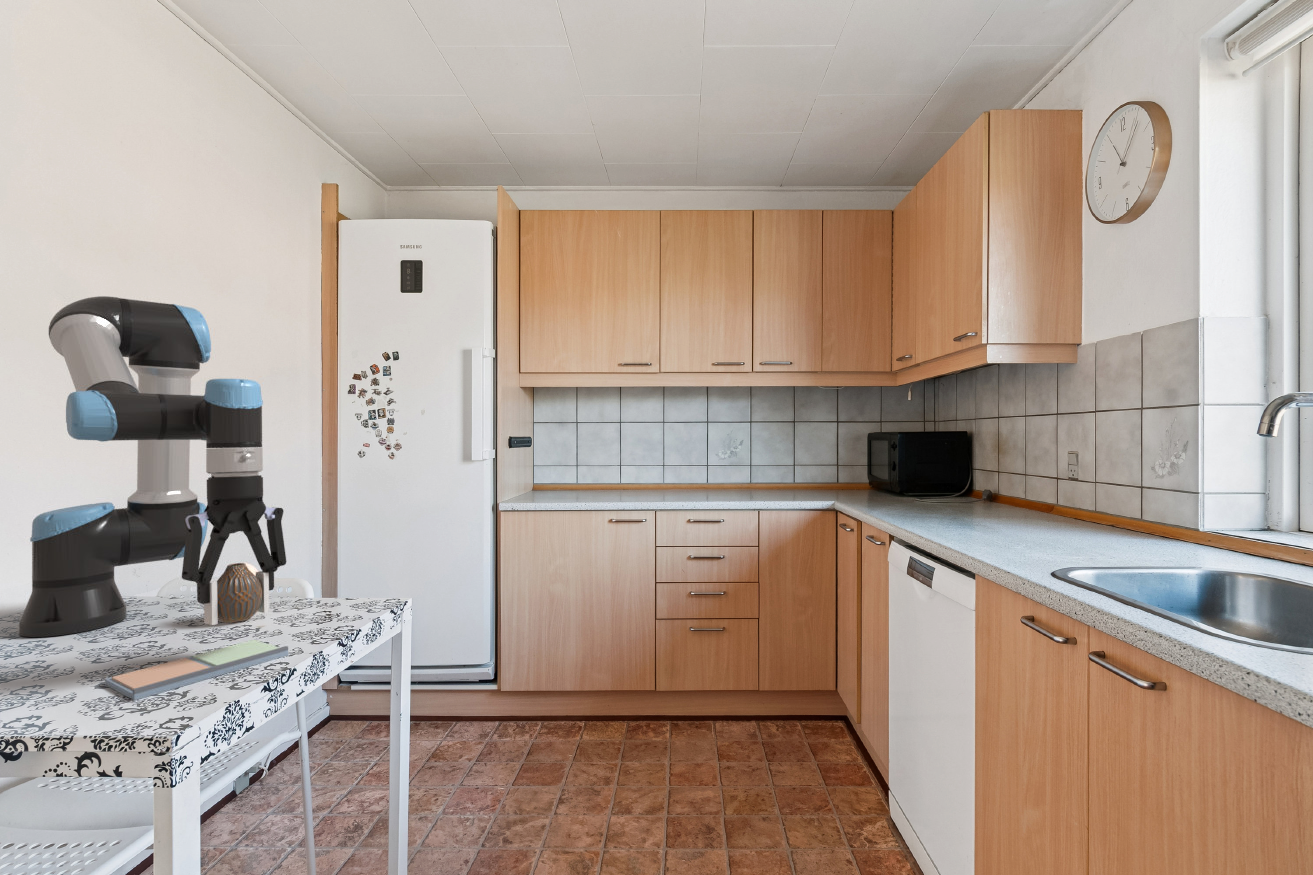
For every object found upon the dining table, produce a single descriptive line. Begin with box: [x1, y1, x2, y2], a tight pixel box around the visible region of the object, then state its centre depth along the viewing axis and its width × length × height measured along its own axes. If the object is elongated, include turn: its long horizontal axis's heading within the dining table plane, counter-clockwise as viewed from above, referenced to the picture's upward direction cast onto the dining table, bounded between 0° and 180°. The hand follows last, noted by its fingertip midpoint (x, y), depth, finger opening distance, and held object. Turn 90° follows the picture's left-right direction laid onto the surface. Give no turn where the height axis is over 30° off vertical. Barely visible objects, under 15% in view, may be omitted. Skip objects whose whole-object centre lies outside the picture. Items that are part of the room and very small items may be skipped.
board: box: [104, 639, 289, 701], centre depth 94 cm, size 11×20×1 cm, turn 148°
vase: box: [216, 562, 262, 623], centre depth 98 cm, size 7×7×9 cm
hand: (237, 616), depth 98 cm, fingers closed on vase, 7 cm apart
